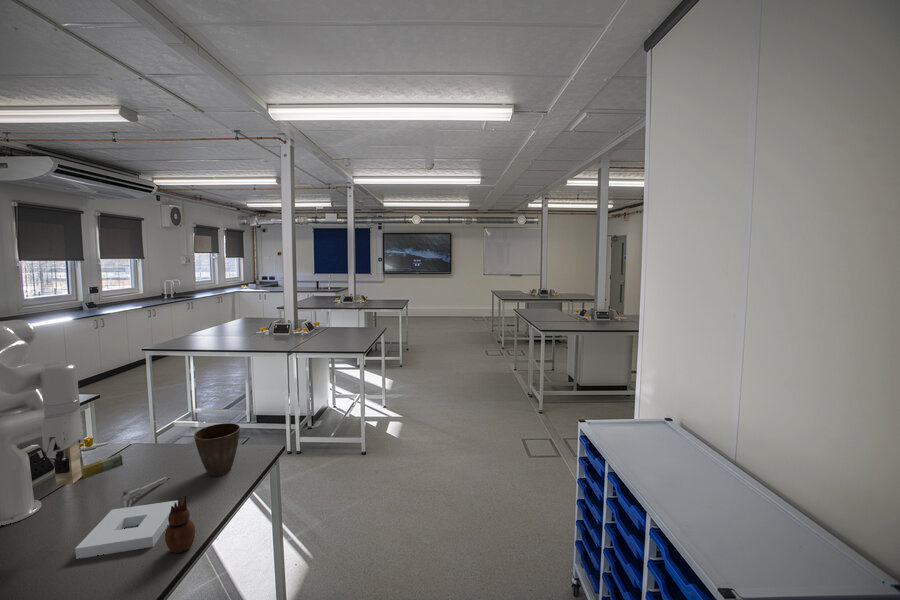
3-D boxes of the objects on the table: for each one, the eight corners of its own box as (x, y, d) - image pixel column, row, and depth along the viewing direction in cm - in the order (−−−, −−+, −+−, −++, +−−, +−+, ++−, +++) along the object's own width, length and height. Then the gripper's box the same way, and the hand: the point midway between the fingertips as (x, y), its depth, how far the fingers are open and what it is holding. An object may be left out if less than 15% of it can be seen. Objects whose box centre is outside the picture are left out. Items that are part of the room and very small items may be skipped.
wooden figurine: (200, 541, 116) (196, 490, 115) (187, 555, 111) (183, 502, 109) (175, 542, 116) (171, 491, 115) (162, 556, 110) (157, 503, 109)
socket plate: (76, 559, 110) (75, 548, 110) (112, 518, 127) (112, 509, 127) (153, 546, 114) (152, 536, 114) (178, 509, 132) (177, 500, 132)
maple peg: (56, 485, 117) (52, 444, 116) (65, 478, 121) (61, 438, 120) (73, 483, 118) (69, 443, 117) (81, 476, 122) (78, 437, 121)
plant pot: (237, 458, 166) (235, 419, 164) (246, 472, 154) (244, 431, 153) (194, 470, 157) (191, 429, 155) (200, 486, 145) (197, 443, 144)
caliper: (124, 512, 131) (122, 493, 130) (121, 512, 131) (119, 493, 130) (169, 479, 151) (168, 462, 151) (167, 479, 151) (165, 462, 151)
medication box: (120, 463, 164) (119, 453, 163) (123, 465, 162) (122, 455, 162) (81, 477, 154) (80, 466, 153) (84, 478, 152) (82, 468, 152)
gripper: (65, 398, 125) (71, 457, 126) (24, 419, 108) (31, 485, 110) (94, 396, 126) (99, 454, 128) (58, 417, 110) (64, 482, 112)
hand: (68, 468), depth 119 cm, fingers closed on maple peg, 4 cm apart
